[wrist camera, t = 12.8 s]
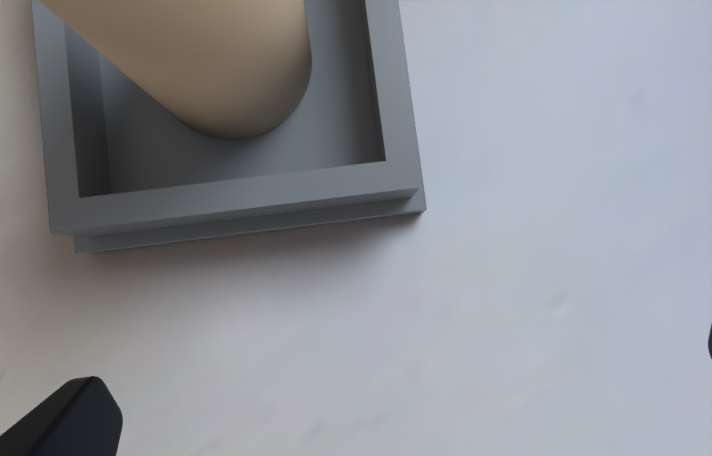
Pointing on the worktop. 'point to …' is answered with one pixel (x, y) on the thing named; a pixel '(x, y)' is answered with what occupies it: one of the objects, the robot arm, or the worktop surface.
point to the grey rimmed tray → (229, 142)
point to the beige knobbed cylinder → (204, 56)
